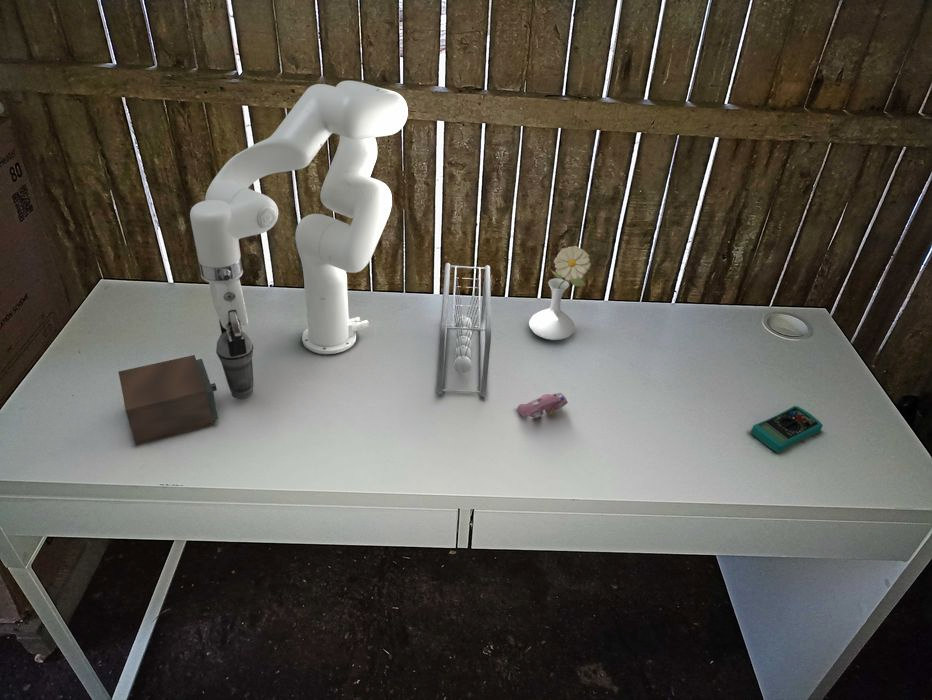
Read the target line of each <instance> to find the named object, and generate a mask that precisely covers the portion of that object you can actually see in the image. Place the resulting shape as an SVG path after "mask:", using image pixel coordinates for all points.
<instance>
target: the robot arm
mask: <svg viewBox="0 0 932 700" xmlns="http://www.w3.org/2000/svg"><path fill="white" fill-rule="evenodd" d="M408 111H409V109H408V105H407V101H406V100H405V98H404V97H403V96H402V95H401V94H400V93H398V92H396V91H393V90H390V89H386V88H383V87H380V86H375V85H372V84H369V83H365V82H361V81H357V80H342V81H340V82H339V83H338V84H336V85H335V86H334V85H329V84H325V83H316V84H313V85H310V86H309V87H308V88H307V89H306V90H305V91H304V93H303V94H301V96H300V97H299V99H298V100H297V102H296V103H295V104H294V106H293V107H292V108H291V109H290V111H289V112H288V114H287V115H286V116H285V118H284V119H283V120H282V121H281V123H280V124H279V125H278V127H277V128H276V129H275V131H274V132H273V133H272V134H271V135H270V136H269V137H267V138H265V139H263V140H260V141H258V142H257V143H254V144H253V145H251V146H249V147H247V148H245V149H243V150H242V151H240V152H238V153H236V154H235V155H234V156H232V157H231V158H230V159H229V160H228V161H226V162H225V164H224V165H223V166H222V167H221V169H220V170H219V171H218V172H217V174H216V175H215V176H214V178H213V180H212V181H211V183H210V184H209V186H208V187H207V190H206V193H205V197H204V200H202V201H199V202H197V203H195V204H194V205H193V206H192V207H191V209H190V211H189V218H190V224H191V229H192V234H193V240H194V246H195V250H196V255H197V261H198V262H197V263H198V267H199V272H200V277H201V279H202V280H203V281H205V282H207V283H208V284H209V285H208V286H209V290H210V295H211V300H212V303H213V306H214V309H215V312H216V314H217V317H218V321H219V328H220V333H221V335H222V334H223V333H224V332H225V331H227V335H228V339H227V342H228V348H229V354H230V356H231V357H234V356H238V355H242V354H246V353H247V351H246V345H245V338H244V336H243V332H244V331H243V328H242V326H245V325H246V326H247V325H249V318H248V313H247V308H246V307H247V306H246V303H245V298H244V293H243V287H242V284H241V280H240V278H241V277H242V276H243V274H244V269H243V263H242V262H243V261H242V255H241V248H240V241H239V240H240V239H244V238H249V237H252V236H257V235H261V234H264V233H266V232H268V231H269V230H271V229H273V227H274V226H275V225H276V223H277V221H278V219H279V213H280V212H279V208H278V205H277V203H276V202H275V201H274V200H273V198H271V197H270V196H268V195H266V194H264V193H262V192H261V193H260V192H259V191H255V190H253V189H251V188H249V187H250V186H252V184H254V183H255V182H256V181H258V180H260V179H262V178H264V177H267V176H269V175H273V174H278V173H283V172H284V173H287V172H291V171H292V172H293V171H297V170H302V169H305V168H306V167H308V166H309V165H310V164H311V162H312V161H313V159H314V158H315V157H316V155H317V154H318V153H319V151H320V150H321V148H322V147H323V146H324V144H325V143H326V141H327V140H328V139H329V138H330V136H331V135H332V134H335V135H338V136H339V140H338V145H337V148H336V151H335V154H334V156H333V159H332V161H331V164H330V166H329V168H328V171H327V172H326V175H325V178H324V181H323V183H322V186H321V190H320V193H319V199H320V202H321V204H322V206H324V207H325V208H326V209H328V210H330V211H332V212H334V213H336V214H339V215H341V216H344V217H346V218H349V219H352V220H351V223H350V224H349V223H346V222H344V221H342V220H339V219H336V218H334V217H331V216H328V215H326V214H322V213H311V214H307V215H305V216H304V217H302V218H301V219H300V221H298V222H299V223H298V224H297V225H296V228H295V234H294V239H295V246H296V250H297V252H298V257H299V259H300V263H301V267H302V276H303V285H304V286H303V287H304V299H305V309H306V310H305V311H306V322H307V327H306V328H305V329H304V331H303V332H302V335H301V338H302V341H301V342H302V343H303V346H304V347H305V348H306V349H308V350H309V351H310V352H313V353H316V354H320V355H334V354H339V353H343V352H345V351H347V350H349V349H350V348H351V347H352V346H354V344H355V343H356V341H357V331H358V330H364V329H369V328H370V323H369V321H368V319H365V320H361V318H360V316H356V317H352V318H350V317H349V299H348V296H349V295H348V276H347V273H351V274H352V273H353V274H355V273H356V274H357V273H360V272H361V271H363V270H364V269H365V268H366V267H367V266H368V264H369V263H370V261H371V259H372V258H373V255H374V253H375V250H376V248H377V246H378V244H379V241H380V239H381V236H382V234H383V231H384V229H385V226H386V225H387V222H388V221H389V220H388V219H389V217H390V214H391V212H392V211H391V210H392V206H393V198H392V197H393V196H392V192H391V190H390V188H389V186H388V185H387V184H386V183H384V182H383V181H381V180H379V179H376V178H375V177H371V175H372V172H373V169H374V166H375V164H376V161H377V158H378V143H377V139H376V138H379V137H381V138H382V137H387V136H388V137H389V136H392V135H394V134H396V133H398V132H399V131H400V130H402V128H403V127H404V126H405V124H406V122H407V120H408V115H409V113H408ZM231 329H233V333H230V330H231ZM242 331H243V332H242Z"/></svg>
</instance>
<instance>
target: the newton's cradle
mask: <svg viewBox="0 0 932 700" xmlns="http://www.w3.org/2000/svg"><path fill="white" fill-rule="evenodd" d="M451 268H454V274H453V275H454V277H453V294H452V310H451V324H448V317H449V298H450V297H449V296H450V280H451V278H450V277H451V275H450V274H451ZM457 269H473V270H474V269H475V270H478V278H477V279H476V283H475V287H473V286H469V287H468V286H467V288H470V289H473V293H472V295H465V297H468V298H471V300H470V303H469V305H468V309H467V313H466V314H464V313H463V307H467V305H465V304H463V305H462V301H461V294H460V286H459V282H458V277H457ZM481 270H484V273H483V274H484V275H483V284H481V283H482V282H481V281H482V279H481V277H482V274H481ZM463 279H467V280H472V277H471V278H468V277H463ZM456 285H457V286H456ZM481 285H483V286H482V287H481ZM477 286H478V287H477ZM481 288H482V297H481ZM475 291H476V292H475ZM477 294H478V296H477ZM491 295H492V294H491V266H490V265H488V264H487V265H485V266H484V267H483V266H465V265H451V264H450V263H449V262H446V263H445V265H444V278H443V289H442V304H441V313H440V314H441V315H440V325H439V327H440V328H439V344H438V364H437V365H438V367H437V391H436V392H437V395H442V394H443V393H444V392H449V393H450V392H451V393H467V394H469V393H470V394H479V395H480V398H481V397H482V398H484V397H485V396H486V393H487V386H488V385H487V383H488V376H489V375H488V373H489V364H490V363H489V362H490V353H491V343H492V342H491V341H492V308H491V307H492V305H491V303H492V302H491V301H492V300H491V299H492V297H491ZM472 301H473V302H472ZM477 302H478V305H477ZM471 304H472V305H471ZM470 307H471V308H470ZM472 310H473V311H472ZM469 311H470V312H469ZM477 311H478V315H477ZM474 312H475V313H474ZM471 313H472V314H471ZM468 314H469V315H468ZM472 318H473V319H472ZM475 318H476V319H475ZM474 321H475V322H474ZM477 321H478V325H477ZM454 323H455V324H454ZM473 324H474V325H473ZM448 330H456V331H455V337H456V340H455V343H454V345H455V347H456V349H455V351H454V357H455V360H454V364H453V365H454V368H455V370H456V371H457V372H459V373H462V374H463V373H467V372H469V370H471V367H472V361H471V357H472V350H471V348H472V344H473V343H472V337H473V334H474V331H477V332H478V331H479V391H477V390H464V389H463V390H461V389H446V388H445V389H444V379H445V378H444V376H445V364H446V361H445V360H446V349H447V335H448V332H447V331H448Z"/></svg>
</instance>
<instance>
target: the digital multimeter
mask: <svg viewBox="0 0 932 700" xmlns="http://www.w3.org/2000/svg"><path fill="white" fill-rule="evenodd" d="M823 426H824V424H823V423H822V422H821V421H820V420H819V419H818V418H817V417H815V416H813V414H811V413H810V412H808V411H807V410H805V409H804V408H802V407H800V406H798V405H793V406H792V407H790V408H788V409H786V410H784V411H782V412H780V413H778V414H776V415H774V416H772V417H770V418H768V419H765V420H763V421H760V422H758V423H756V424H755V423H754V424H753V426H752V428H751V430H750V433H751V434H752V435H753V436H754V437H755V438H757V439H758V440H759V441H760V442H761V443H763V444H764V445H765V446H767V447H768V448H770V449H771V450H772V451H774V452H775V453H777V454H779V453H781V452H783V451H784V450H787V449H788V448H790V447H791V446H793V445H795V444H796V443H798V442H801V441H803V440H805V439H807V438H809V437H811V436H814V435H816V434H818V433H820V432H821V431H822V428H823Z"/></svg>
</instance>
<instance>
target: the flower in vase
mask: <svg viewBox="0 0 932 700" xmlns="http://www.w3.org/2000/svg"><path fill="white" fill-rule="evenodd" d="M589 257H590V255H589V253H587V251H585V250H584V249H583V248H580V247H579V246H577V245H574V246H568V247H565V248H561V249H560V251H559V252H558V253H557V255H556V257H555V258H554V260H553V263H554V268H556V269H555V271H553V270H552V269H550V272H551V273H552V274H553V275H554V276H555V277H556V278H550V279H549V280H548V283H547V284H548V286H549V288H550V291H551V301H550V305H549V307H548V308H546V309H543V310H540V311H538V312H537V313H534V314H533V315H532V316H531V318H530V319H529V322H528V326H529V328H530V329H531V331H532V332H533V334H535V335H536V336H538V337H540V338H542V339H545V340H550V341H559V340H561V341H562V340H565V339H568V338H569V337H571V336H572V335H573V334H574V333H575V331H576V326H575V323H574V321H573V319H572V318H571V317H570V316H569V315H568V314H567V313H566V312H564V311H562V310H561V301H562V298H563V294H564V293H565V291H566V290H567V289H568V288H569V287H570V283H571V284H572V285H573V286H574V287H585V286H586V283H585V281H584V280H583V277H585V274H586V273H587V272H588V270H589V269H590V267H591V263H590V261H591V260H590V258H589ZM568 281H570V283H569V282H568Z"/></svg>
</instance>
